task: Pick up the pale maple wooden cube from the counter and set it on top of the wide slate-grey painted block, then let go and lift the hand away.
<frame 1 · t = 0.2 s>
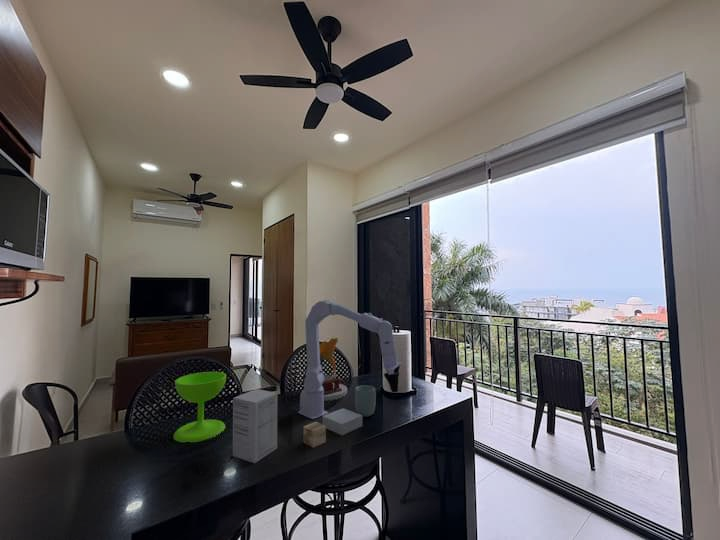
hand: (395, 388, 120), 10 cm above the breakfast bar, tool pointing down, fingers open, 7 cm apart
maple cube: (314, 442, 100), on the breakfast bar
wineglass: (200, 431, 108), on the breakfast bar
grey base block: (342, 427, 111), on the breakfast bar
supplement box: (255, 453, 94), on the breakfast bar
cup: (365, 415, 121), on the breakfast bar
gramophone: (325, 393, 147), on the breakfast bar
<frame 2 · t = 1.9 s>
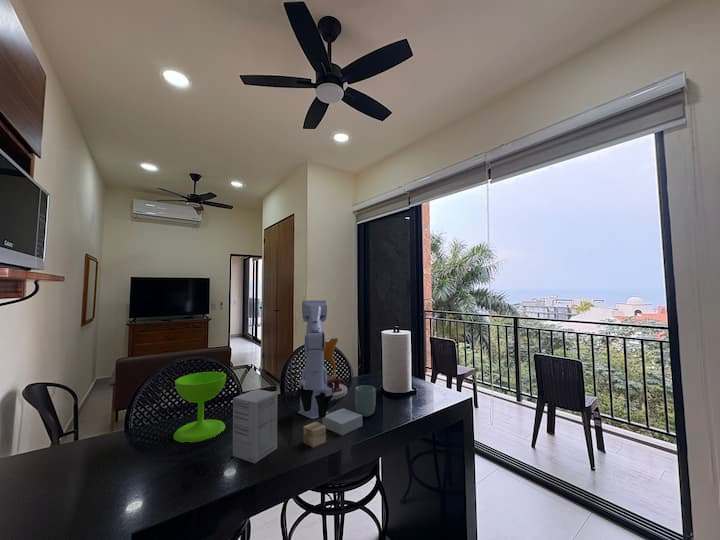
hand: (314, 413, 100), 9 cm above the breakfast bar, tool pointing down, fingers open, 7 cm apart
nothing on the breakfast bar moved.
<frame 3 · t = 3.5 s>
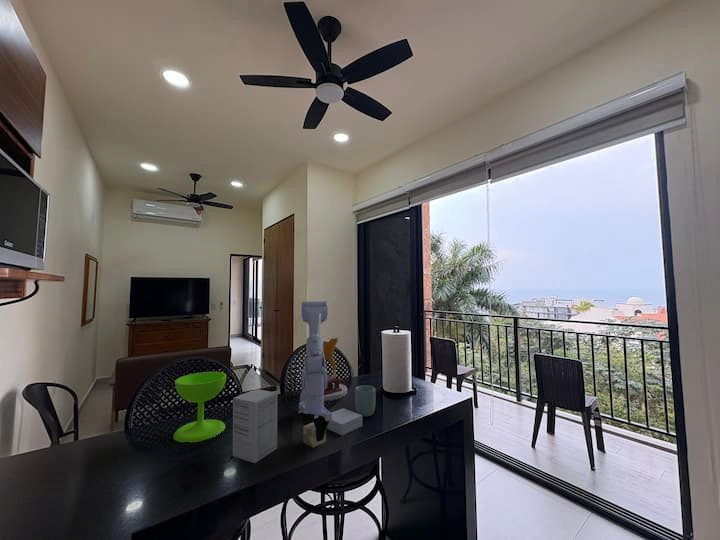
hand: (314, 437, 100), 1 cm above the breakfast bar, tool pointing down, fingers closed on maple cube, 5 cm apart
maple cube: (314, 442, 100), on the breakfast bar, touching gripper
everything else where it was.
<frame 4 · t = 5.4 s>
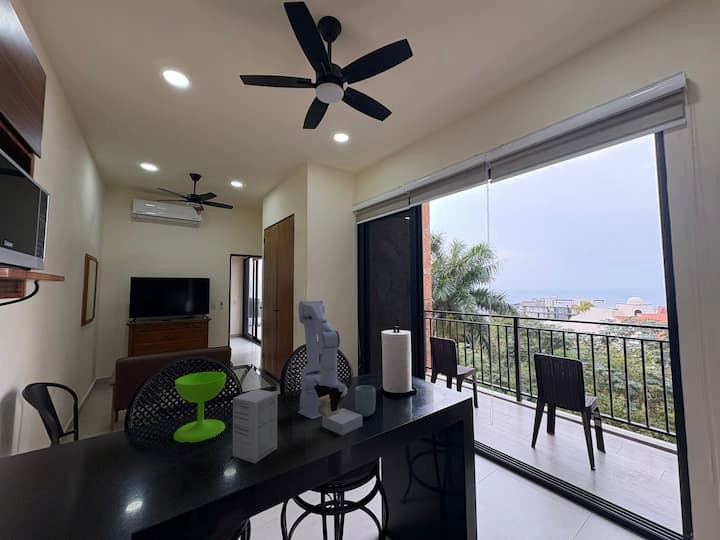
hand: (328, 408, 106), 8 cm above the breakfast bar, tool pointing down, fingers closed on maple cube, 5 cm apart
maple cube: (328, 413, 106), point 7 cm above the breakfast bar, touching gripper
everything else where it was.
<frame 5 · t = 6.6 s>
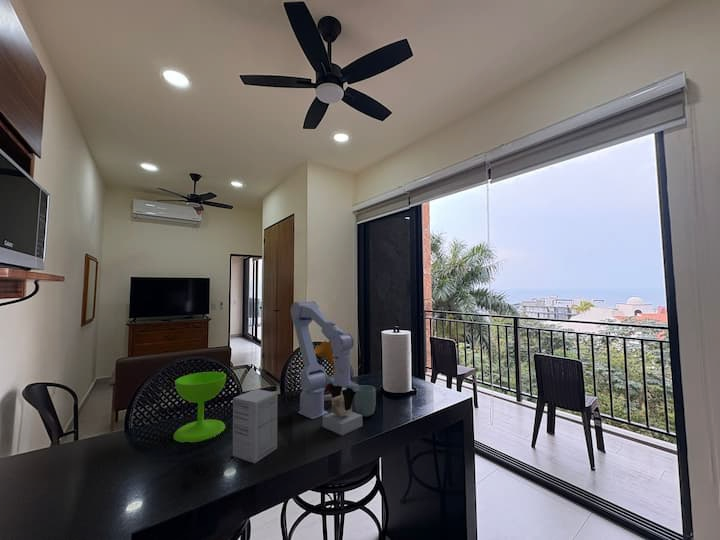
hand: (342, 407, 112), 6 cm above the breakfast bar, tool pointing down, fingers closed on maple cube, 5 cm apart
maple cube: (341, 412, 111), point 5 cm above the breakfast bar, touching gripper
everything else where it was.
when the fingers open (6 cm above the breakfast bar, at t = 7.5 s): maple cube drops 1 cm, resting on grey base block.
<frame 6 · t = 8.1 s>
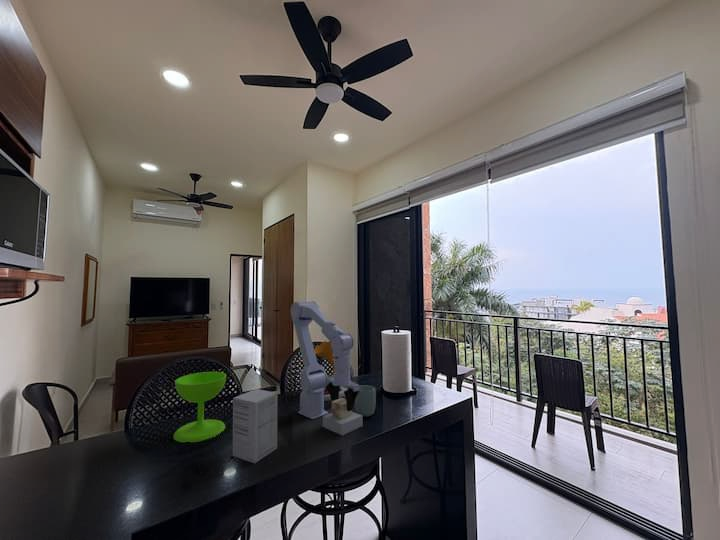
hand: (342, 407, 112), 6 cm above the breakfast bar, tool pointing down, fingers open, 7 cm apart
maple cube: (341, 415, 112), point 4 cm above the breakfast bar, touching grey base block
grey base block: (342, 427, 111), on the breakfast bar, touching maple cube
everything else where it was.
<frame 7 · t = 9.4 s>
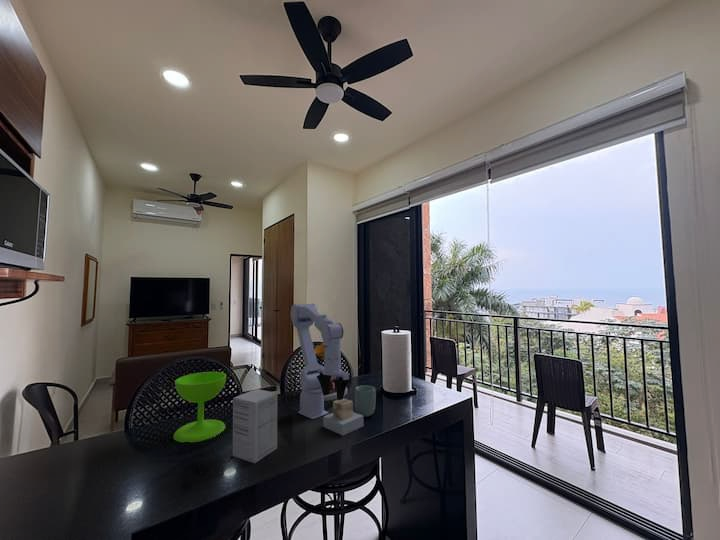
hand: (333, 397, 111), 10 cm above the breakfast bar, tool pointing down, fingers open, 7 cm apart
nothing on the breakfast bar moved.
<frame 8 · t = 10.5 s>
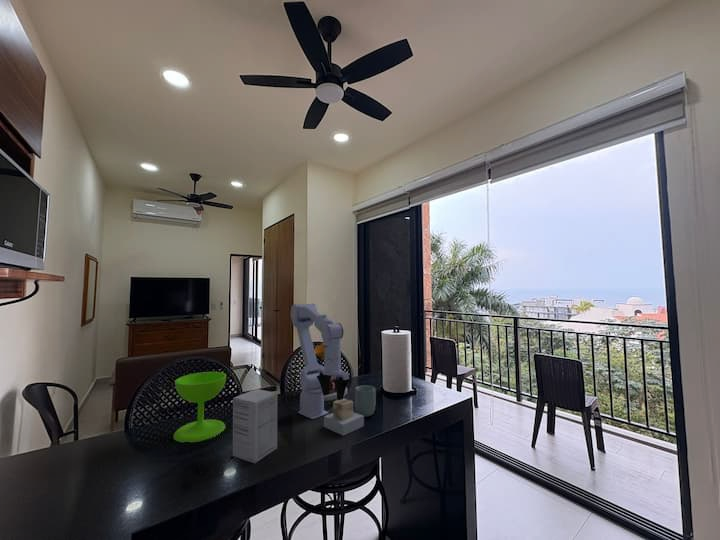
hand: (333, 397, 111), 10 cm above the breakfast bar, tool pointing down, fingers open, 7 cm apart
maple cube: (343, 416, 111), point 4 cm above the breakfast bar
grey base block: (343, 427, 111), on the breakfast bar
everything else where it was.
at the end: maple cube 0.2 cm off-centre on the grey base block, point 4.0 cm above the grey base block's base; maple cube tilted 1°; the gripper is holding nothing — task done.
